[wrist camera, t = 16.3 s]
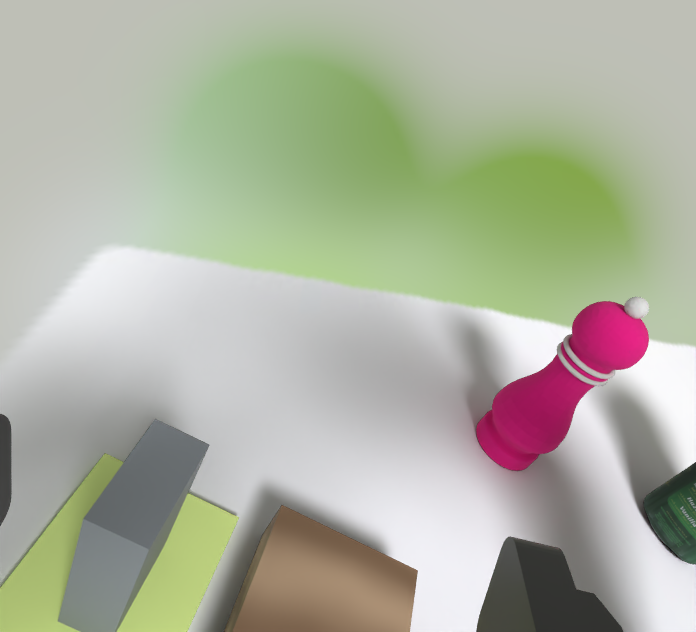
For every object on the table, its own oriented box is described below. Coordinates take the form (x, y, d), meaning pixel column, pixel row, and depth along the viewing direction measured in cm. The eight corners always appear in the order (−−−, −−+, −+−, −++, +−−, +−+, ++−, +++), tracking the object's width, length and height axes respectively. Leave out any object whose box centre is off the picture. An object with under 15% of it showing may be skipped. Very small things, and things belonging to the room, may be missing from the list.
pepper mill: (542, 451, 58) (689, 314, 46) (520, 489, 52) (679, 345, 41) (487, 404, 60) (614, 261, 48) (459, 436, 54) (595, 283, 43)
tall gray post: (120, 525, 34) (155, 418, 28) (164, 546, 35) (209, 444, 28) (57, 621, 30) (83, 518, 23) (109, 644, 30) (149, 549, 23)
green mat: (103, 458, 38) (104, 453, 37) (236, 521, 38) (239, 517, 38) (-67, 679, 26) (-68, 675, 26) (125, 764, 27) (127, 761, 27)
